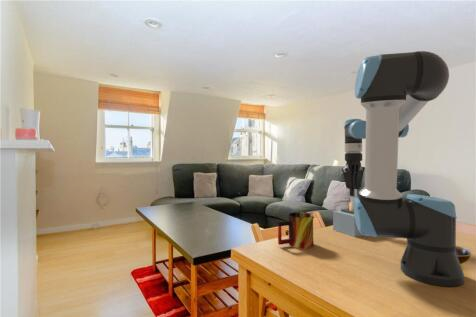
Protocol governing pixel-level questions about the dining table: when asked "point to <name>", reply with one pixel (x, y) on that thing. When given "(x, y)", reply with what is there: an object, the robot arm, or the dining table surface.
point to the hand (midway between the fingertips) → (353, 202)
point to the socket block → (345, 222)
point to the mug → (298, 230)
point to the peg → (351, 206)
